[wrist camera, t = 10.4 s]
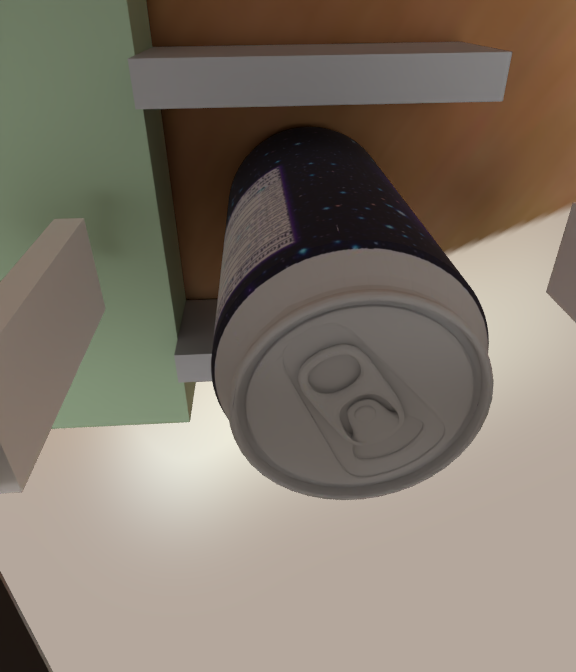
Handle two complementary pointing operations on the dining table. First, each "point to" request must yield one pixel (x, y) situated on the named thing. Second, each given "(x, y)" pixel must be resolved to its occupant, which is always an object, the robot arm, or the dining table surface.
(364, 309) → the beverage can
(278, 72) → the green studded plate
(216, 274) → the dining table surface
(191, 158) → the dining table surface
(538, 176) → the dining table surface
